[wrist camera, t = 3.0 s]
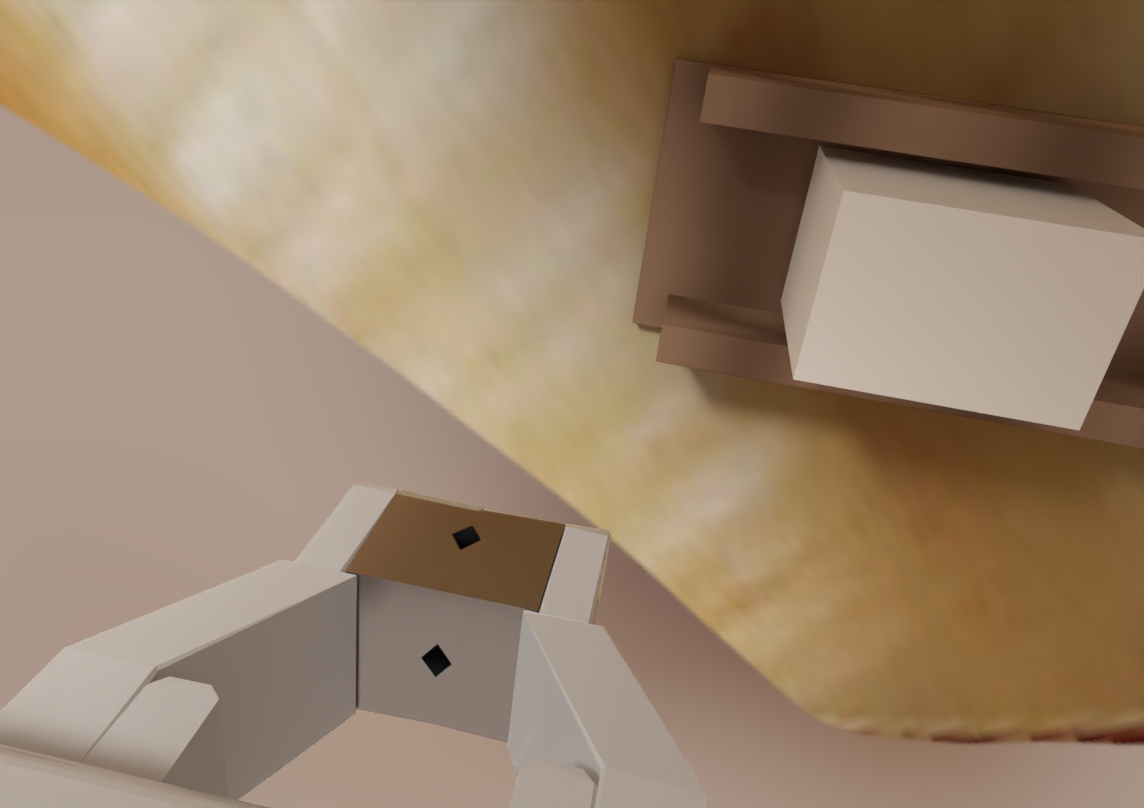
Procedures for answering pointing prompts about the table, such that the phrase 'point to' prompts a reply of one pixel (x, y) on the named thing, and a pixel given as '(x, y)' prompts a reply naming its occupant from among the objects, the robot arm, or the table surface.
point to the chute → (778, 193)
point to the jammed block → (958, 287)
